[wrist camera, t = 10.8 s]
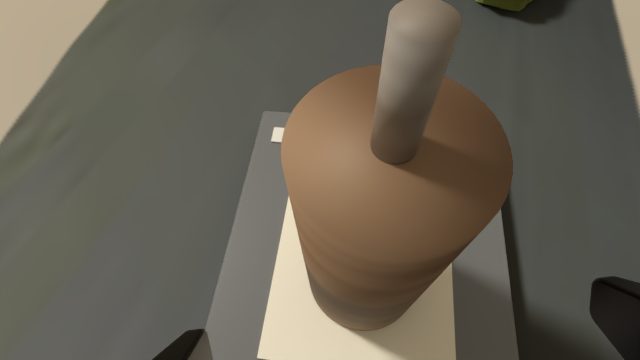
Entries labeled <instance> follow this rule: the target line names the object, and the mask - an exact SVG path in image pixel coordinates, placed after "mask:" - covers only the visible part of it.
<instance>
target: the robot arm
mask: <svg viewBox="0 0 640 360" xmlns="http://www.w3.org/2000/svg"><path fill="white" fill-rule="evenodd" d="M590 314H591V317H592V319H593V320H594V322H595V323H596V324H597V326H598V327H599V328H600V329H601V331H602V332H603V333H604V334H605V336H606V337H607V338H608V339H609V341H610V342H611V343H612V344H613V346H614V347H615V348H616V349H617V351H618V352H619V353H620V354H621V356H622V357H623V358H624V360H640V283H638V282H634V281H630V280H626V279H623V278H619V277H615V276H610V277H602V278H596V279H595V280H594V281H593V282H592V287H591V298H590ZM152 360H213V355H212V351H211V346H210V342H209V337H208V334H207V331H206V330H205V329H195V330H188V331H186V332H185V333H183V334H182V335H181V336H180V337H179V338H177V339H176V340H175V341H174V342H173V343H171V344H170V345H169V346H168V347H167V348H165V349H164V350H163V351H162V352H161V353H159V354H158V355H157V356H156V357H155V358H153V359H152Z"/></svg>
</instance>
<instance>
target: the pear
mask: <svg viewBox="0 0 640 360" xmlns="http://www.w3.org/2000/svg"><path fill="white" fill-rule="evenodd" d="M531 1H533V0H476V2H478V3H482V4H486V5H490V6H493V7H497V8H501V9H508V10H513V11H520V10H522V9H523V8H524V7H525V6H526V4H528V3H530V2H531Z"/></svg>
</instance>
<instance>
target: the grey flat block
mask: <svg viewBox="0 0 640 360" xmlns="http://www.w3.org/2000/svg"><path fill="white" fill-rule="evenodd" d="M290 115H291V113H285V112H272V111H263V115H262V119H261V123H260V126H259V130H258V134H257V138H256V141H255V145H254V149H253V153H252V156H251V160H250V164H249V168H248V171H247V175H246V179H245V182H244V186H243V190H242V194H241V197H240V201H239V205H238V209H237V212H236V216H235V220H234V224H233V227H232V231H231V235H230V238H229V242H228V246H227V250H226V253H225V257H224V261H223V265H222V268H221V272H220V276H219V280H218V283H217V287H216V291H215V295H214V298H213V302H212V306H211V309H210V313H209V317H208V321H207V324H206V328H205V330H206V331H207V334H208V337H209V342H210V346H211V351H212V355H213V360H519V354H518V346H517V338H516V330H515V322H514V313H513V305H512V297H511V289H510V281H509V272H508V264H507V256H506V248H505V240H504V231H503V223H502V215H501V209H500V210H499V212H498V213H497V214H496V216H495V217H494V218H493V219H492V220H491V222H490V223H489V224H488V225H487V226H486V227H485V228H484V229H483V230H482V231H481V232H480V233H479V234H478V236H477V237H476V238H475V239H474V240H473V241H472V242H471V243H470V244H469V245H468V246H467V247H466V248H465V249H464V250H463V251H462V252H461V254H460V255H459V256H458V257H457V258H456V259H455V260H454V261H453V262H452V263H451V264H450V265H449V266H448V267H447V268H446V269H445V270H444V272H443V273H442V274H441V275H440V276H439V277H438V278H437V279H436V280H435V281H434V282H433V283H432V284H431V285H430V286H429V287H428V288H427V290H426V291H425V292H424V293H423V294H422V295H421V296H420V297H419V298H418V299H417V300H416V301H415V302H414V303H413V304H412V305H411V306H410V308H409V309H408V310H407V311H406V312H405V313H404V314H403V315H402V316H401V317H400V318H399V319H397V320H396V321H395V322H393V323H392V324H390V325H388V326H386V327H384V328H381V329H377V330H371V331H359V330H353V329H349V328H346V327H344V326H341V325H339V324H338V323H336V322H334V321H333V320H331V319H330V318H329V317H328V316H327V315H326V314H325V313H324V312H323V311H322V310H321V309H320V307H319V306H318V304H317V303H316V301H315V299H314V297H313V294H312V292H311V288H310V284H309V279H308V275H307V271H306V266H305V262H304V258H303V254H302V249H301V245H300V241H299V236H298V232H297V228H296V224H295V219H294V215H293V211H292V206H291V202H290V198H289V194H288V189H287V185H286V181H285V177H284V172H283V168H282V161H281V142H282V137H283V132H284V128H285V126H286V123H287V121H288V118H289V117H290Z"/></svg>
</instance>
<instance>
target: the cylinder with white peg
mask: <svg viewBox="0 0 640 360" xmlns="http://www.w3.org/2000/svg"><path fill="white" fill-rule="evenodd" d="M461 25H462V20H461V17H460V15H459V13H458V12H457V10H456V9H455V8H453V7H452V6H451V5H449V4H447V3H445V2H443V1H441V0H404V1H401V2H400V3H398V4H396V5H395V6H394V7H393V8H392V10H391V11H390V14H389V19H388V25H387V32H386V39H385V46H384V52H383V59H382V65H372V66H364V67H360V68H355V69H351V70H348V71H345V72H342V73H339V74H337V75H335V76H333V77H330V78H329V79H327V80H325V81H323V82H322V83H320V84H319V85H317V86H316V87H315V88H313V89H312V90H311V91H309V92H308V93H307V94H306V95H305V96H304V97H303V98H302V99H301V101H300V102H299V103H298V104H297V106H296V107H295V108H294V110H293V111H292V113H291V115H290V117H289V118H288V121H287V123H286V126H285V128H284V132H283V137H282V142H281V161H282V168H283V172H284V177H285V181H286V185H287V189H288V194H289V198H290V202H291V206H292V211H293V215H294V219H295V224H296V228H297V232H298V236H299V241H300V245H301V249H302V254H303V258H304V262H305V266H306V271H307V275H308V279H309V284H310V288H311V292H312V294H313V297H314V299H315V301H316V303H317V304H318V306H319V307H320V309H321V310H322V311H323V312H324V313H325V314H326V315H327V316H328V317H329V318H330V319H331V320H333V321H334V322H336V323H338V324H339V325H341V326H344V327H346V328H349V329H353V330H359V331H371V330H377V329H381V328H384V327H386V326H388V325H390V324H392V323H393V322H395V321H396V320H397V319H399V318H400V317H401V316H402V315H403V314H404V313H405V312H406V311H407V310H408V309H409V308H410V306H411V305H412V304H413V303H414V302H415V301H416V300H417V299H418V298H419V297H420V296H421V295H422V294H423V293H424V292H425V291H426V290H427V288H428V287H429V286H430V285H431V284H432V283H433V282H434V281H435V280H436V279H437V278H438V277H439V276H440V275H441V274H442V273H443V272H444V270H445V269H446V268H447V267H448V266H449V265H450V264H451V263H452V262H453V261H454V260H455V259H456V258H457V257H458V256H459V255H460V254H461V252H462V251H463V250H464V249H465V248H466V247H467V246H468V245H469V244H470V243H471V242H472V241H473V240H474V239H475V238H476V237H477V236H478V234H479V233H480V232H481V231H482V230H483V229H484V228H485V227H486V226H487V225H488V224H489V223H490V222H491V220H492V219H493V218H494V217H495V216H496V214H497V213H498V212H499V210H500V209H501V207H502V205H503V203H504V202H505V200H506V197H507V195H508V192H509V189H510V186H511V180H512V175H513V160H512V154H511V148H510V145H509V142H508V139H507V136H506V134H505V132H504V130H503V128H502V126H501V124H500V123H499V121H498V119H497V118H496V116H495V115H494V114H493V112H492V111H491V110H490V109H489V108H488V107H487V105H486V104H485V103H484V102H482V101H481V100H480V99H479V98H478V97H477V96H476V95H475V94H473V93H472V92H471V91H469V90H468V89H466V88H465V87H463V86H462V85H460V84H458V83H457V82H455V81H453V80H451V79H449V78H447V77H445V76H444V74H445V71H446V68H447V65H448V63H449V60H450V57H451V54H452V51H453V48H454V46H455V43H456V40H457V37H458V34H459V31H460V29H461Z"/></svg>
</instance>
